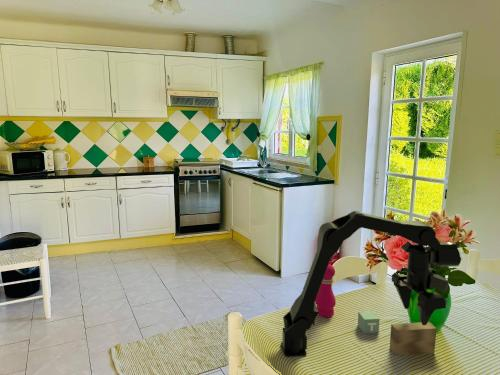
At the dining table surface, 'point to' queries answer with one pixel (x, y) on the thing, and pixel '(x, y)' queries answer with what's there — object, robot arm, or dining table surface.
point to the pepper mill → (326, 294)
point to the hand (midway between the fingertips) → (414, 316)
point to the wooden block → (412, 338)
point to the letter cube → (368, 322)
